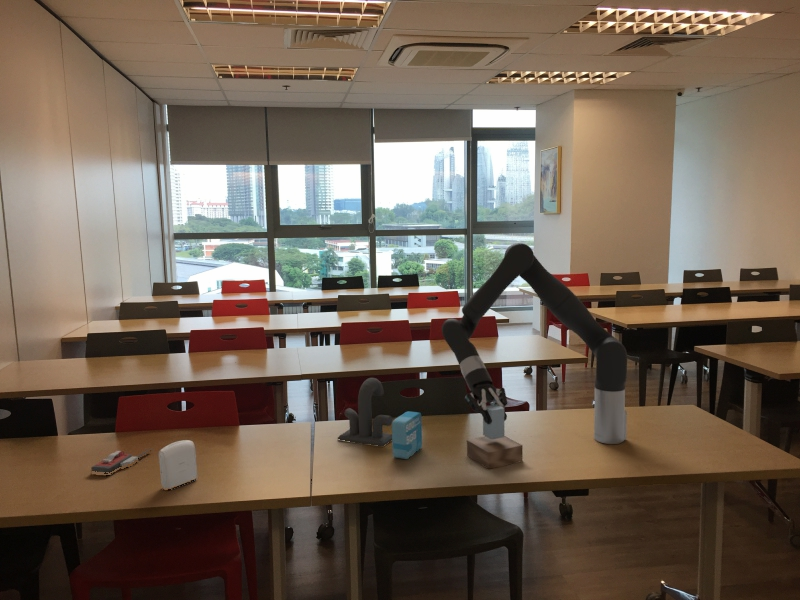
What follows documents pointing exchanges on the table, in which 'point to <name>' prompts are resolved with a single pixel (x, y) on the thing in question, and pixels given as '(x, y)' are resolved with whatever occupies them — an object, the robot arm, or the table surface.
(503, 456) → the walnut base
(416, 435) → the light blue box
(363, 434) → the faucet
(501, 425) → the slate block
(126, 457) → the walkie-talkie
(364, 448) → the table surface
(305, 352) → the table surface
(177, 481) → the photo printer
